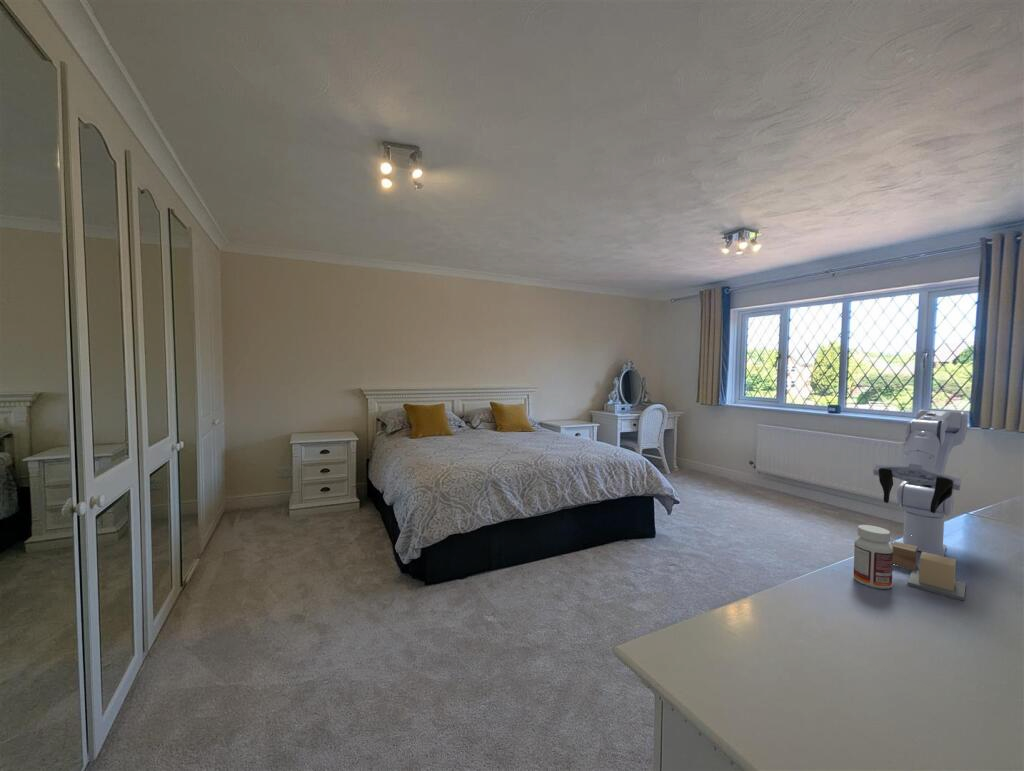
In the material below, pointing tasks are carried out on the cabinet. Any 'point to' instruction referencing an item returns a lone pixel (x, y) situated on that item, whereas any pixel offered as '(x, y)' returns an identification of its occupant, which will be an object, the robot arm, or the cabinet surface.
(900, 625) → the cabinet surface
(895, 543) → the walnut block
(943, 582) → the tower base
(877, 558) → the pill bottle
